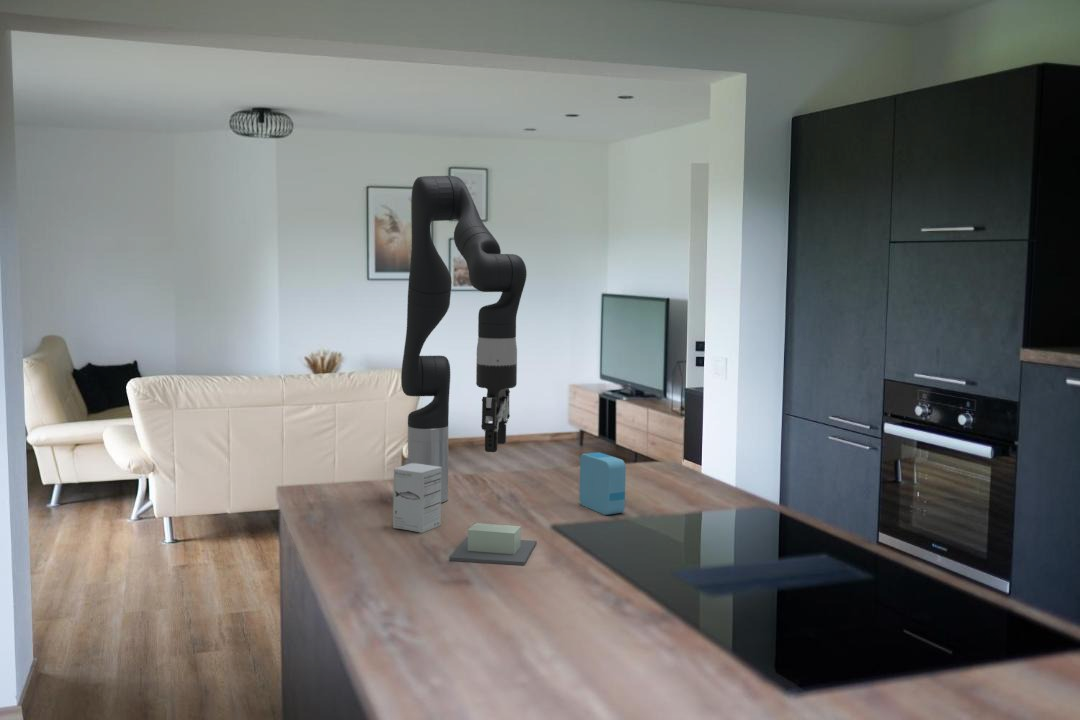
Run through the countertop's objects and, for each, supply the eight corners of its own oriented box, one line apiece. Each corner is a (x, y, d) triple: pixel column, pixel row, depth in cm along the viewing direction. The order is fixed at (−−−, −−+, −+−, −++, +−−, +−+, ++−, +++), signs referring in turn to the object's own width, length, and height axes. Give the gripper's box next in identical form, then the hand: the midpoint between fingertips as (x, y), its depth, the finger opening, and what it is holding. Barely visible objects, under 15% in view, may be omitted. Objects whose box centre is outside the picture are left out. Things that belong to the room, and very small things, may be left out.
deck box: (514, 554, 183) (514, 533, 183) (467, 550, 185) (467, 529, 185) (520, 546, 188) (520, 526, 188) (475, 543, 190) (475, 523, 190)
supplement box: (391, 528, 202) (392, 468, 201) (412, 520, 208) (413, 461, 207) (421, 533, 198) (422, 472, 197) (442, 525, 205) (442, 465, 204)
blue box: (625, 514, 217) (626, 460, 215) (607, 516, 214) (609, 462, 213) (595, 502, 227) (596, 451, 226) (578, 504, 225) (579, 452, 224)
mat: (449, 560, 181) (449, 557, 181) (466, 539, 195) (466, 536, 195) (524, 565, 179) (524, 562, 179) (536, 543, 193) (536, 540, 193)
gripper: (509, 366, 176) (508, 455, 178) (523, 358, 190) (521, 441, 192) (468, 364, 177) (467, 453, 179) (484, 357, 191) (483, 440, 193)
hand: (495, 447), depth 185 cm, fingers open, 8 cm apart
